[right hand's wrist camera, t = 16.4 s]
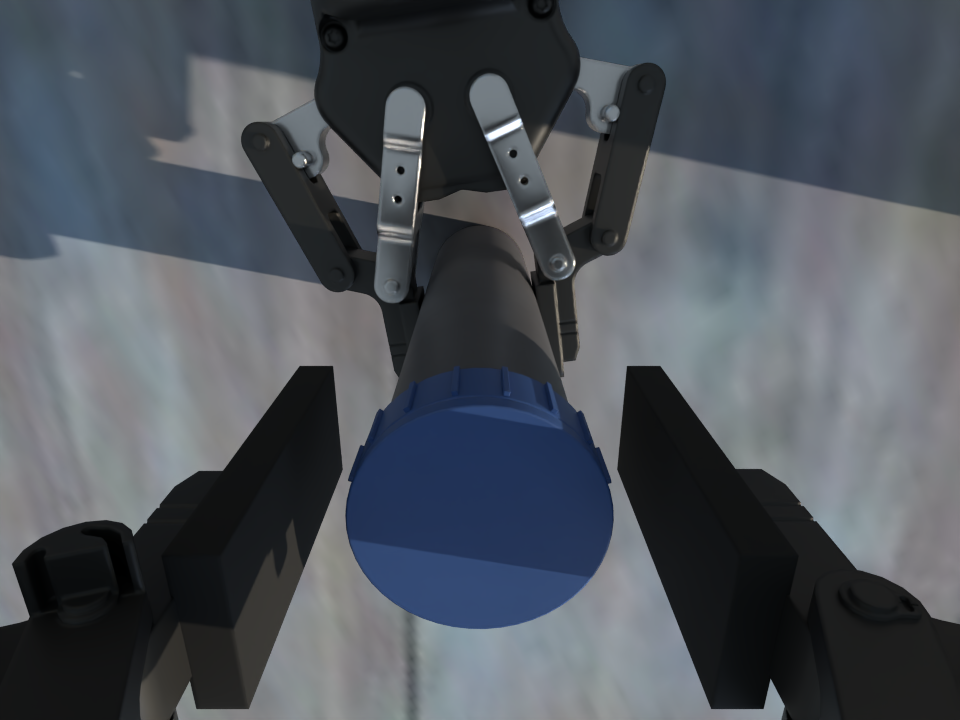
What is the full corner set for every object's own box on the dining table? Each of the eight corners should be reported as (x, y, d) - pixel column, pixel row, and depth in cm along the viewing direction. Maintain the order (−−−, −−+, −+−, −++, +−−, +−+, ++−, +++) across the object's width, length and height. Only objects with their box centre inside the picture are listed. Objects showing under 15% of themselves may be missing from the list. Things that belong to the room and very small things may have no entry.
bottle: (531, 232, 28) (616, 416, 11) (516, 318, 29) (568, 603, 12) (440, 218, 28) (376, 384, 10) (430, 306, 29) (357, 578, 12)
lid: (330, 384, 11) (307, 425, 10) (586, 342, 11) (603, 378, 10) (389, 585, 13) (377, 647, 12) (612, 553, 13) (629, 612, 11)
